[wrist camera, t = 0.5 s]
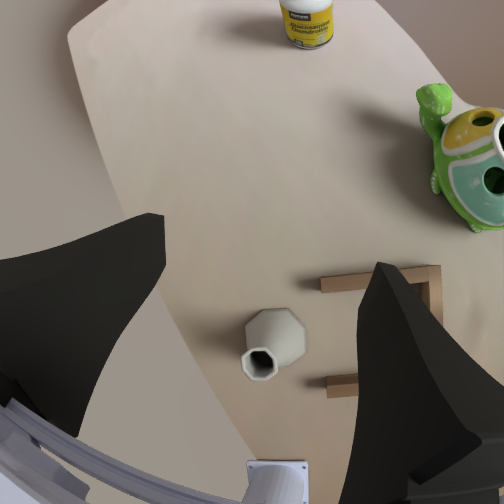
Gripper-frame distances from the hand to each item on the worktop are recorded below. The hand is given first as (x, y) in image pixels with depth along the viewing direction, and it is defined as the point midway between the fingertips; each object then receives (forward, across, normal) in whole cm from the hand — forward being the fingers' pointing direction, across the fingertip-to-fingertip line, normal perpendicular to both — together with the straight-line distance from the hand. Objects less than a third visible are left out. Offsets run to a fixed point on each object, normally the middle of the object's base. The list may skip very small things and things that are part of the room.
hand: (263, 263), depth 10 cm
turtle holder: (+28, -20, 0) cm, 34 cm away
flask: (+16, -1, +21) cm, 27 cm away
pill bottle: (+38, +2, -12) cm, 40 cm away
